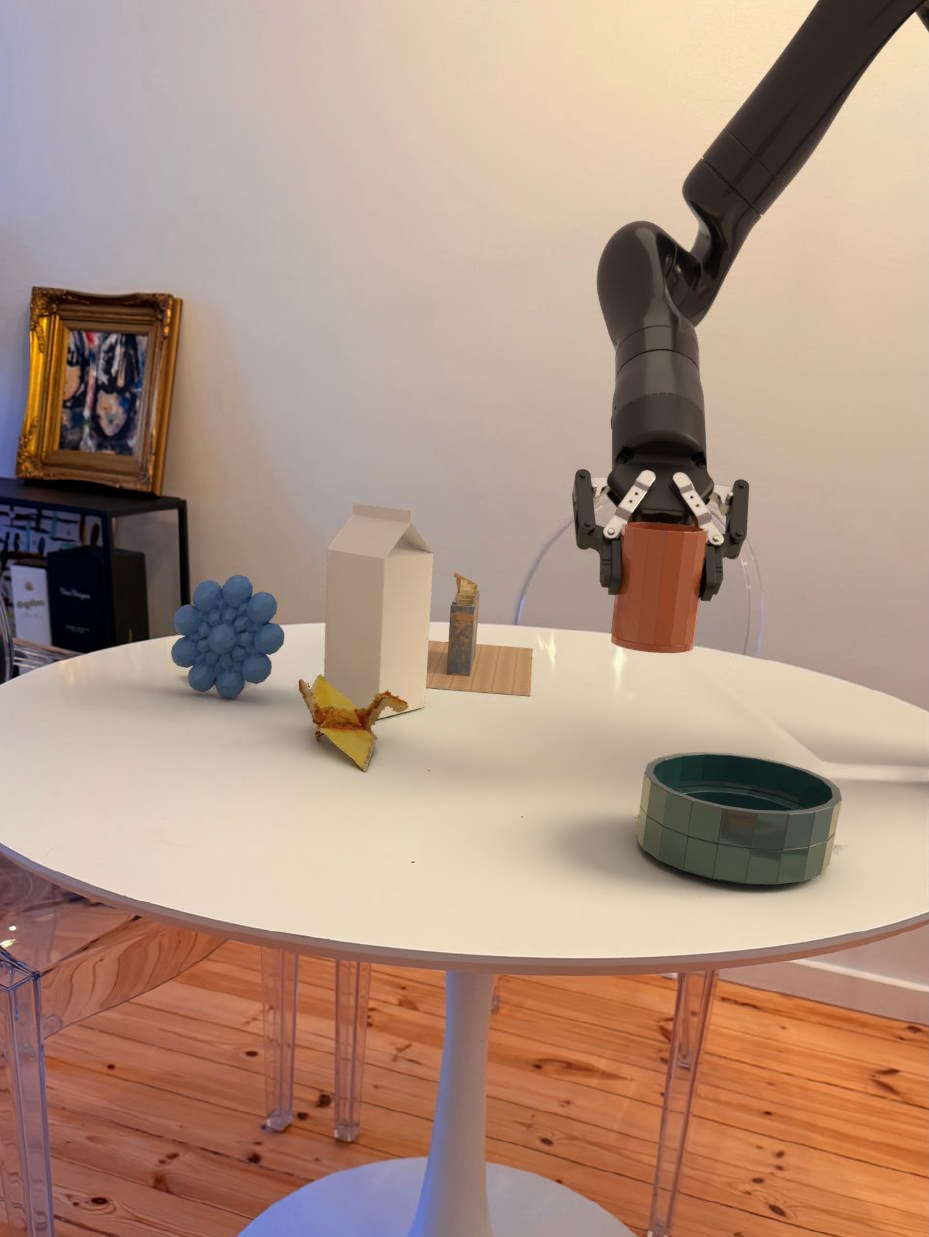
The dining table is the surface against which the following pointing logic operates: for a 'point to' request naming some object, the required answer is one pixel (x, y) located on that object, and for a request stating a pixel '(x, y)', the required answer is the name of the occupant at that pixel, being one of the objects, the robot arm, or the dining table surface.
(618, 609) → the cup
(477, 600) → the rusty post on board
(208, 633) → the blue sphere cluster flower
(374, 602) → the milk carton
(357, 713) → the origami crane
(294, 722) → the dining table surface
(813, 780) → the bowl
